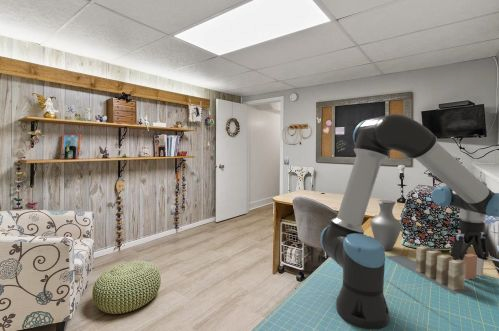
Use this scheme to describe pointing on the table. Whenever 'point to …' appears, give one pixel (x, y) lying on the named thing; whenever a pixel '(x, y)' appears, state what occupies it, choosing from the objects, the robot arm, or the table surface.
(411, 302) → the table surface
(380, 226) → the vase
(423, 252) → the domino
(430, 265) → the domino
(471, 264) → the domino
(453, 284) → the domino
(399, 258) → the domino board
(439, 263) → the domino
